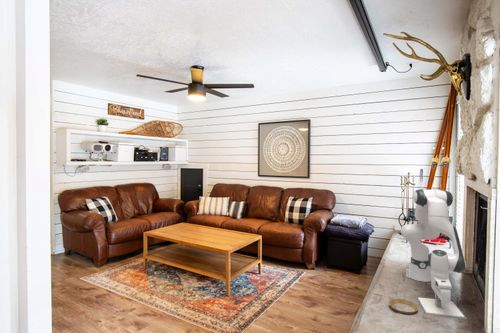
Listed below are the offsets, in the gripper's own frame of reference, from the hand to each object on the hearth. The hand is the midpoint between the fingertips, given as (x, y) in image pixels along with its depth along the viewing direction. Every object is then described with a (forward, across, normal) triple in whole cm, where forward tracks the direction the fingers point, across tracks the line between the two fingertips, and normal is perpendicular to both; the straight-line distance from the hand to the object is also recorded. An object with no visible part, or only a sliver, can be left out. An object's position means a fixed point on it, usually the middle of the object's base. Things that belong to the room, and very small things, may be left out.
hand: (440, 303), depth 165 cm
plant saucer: (+4, +6, -20) cm, 21 cm away
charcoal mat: (+3, 0, 0) cm, 3 cm away
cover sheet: (+2, 0, 0) cm, 3 cm away
